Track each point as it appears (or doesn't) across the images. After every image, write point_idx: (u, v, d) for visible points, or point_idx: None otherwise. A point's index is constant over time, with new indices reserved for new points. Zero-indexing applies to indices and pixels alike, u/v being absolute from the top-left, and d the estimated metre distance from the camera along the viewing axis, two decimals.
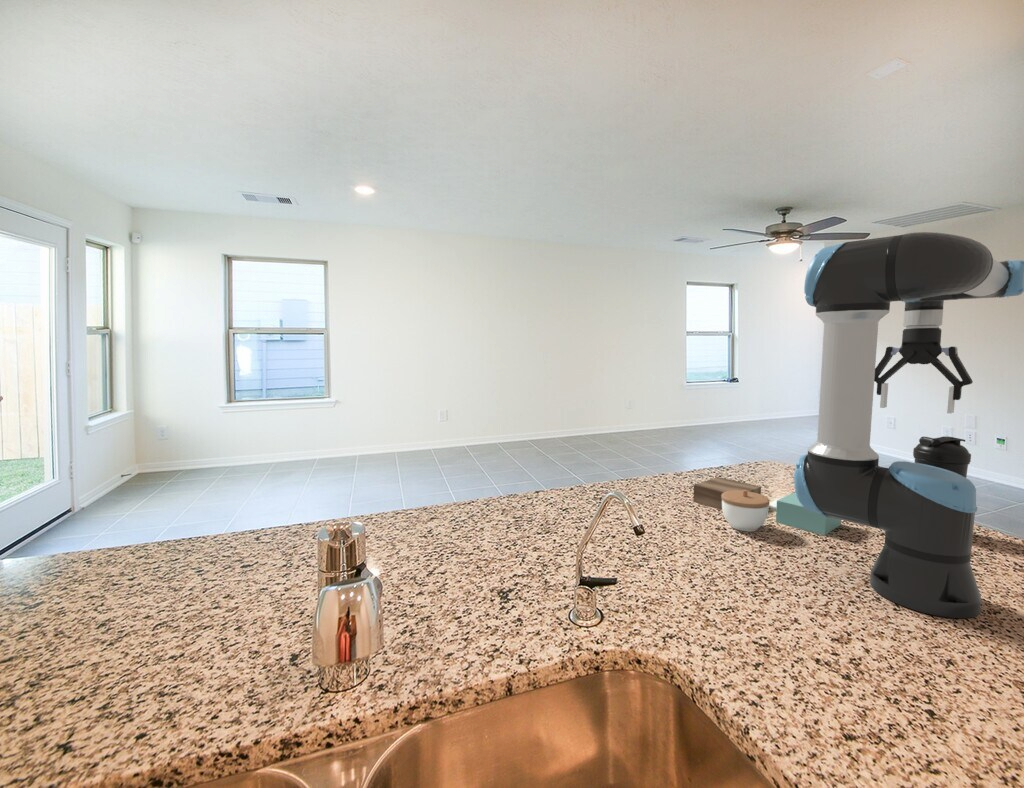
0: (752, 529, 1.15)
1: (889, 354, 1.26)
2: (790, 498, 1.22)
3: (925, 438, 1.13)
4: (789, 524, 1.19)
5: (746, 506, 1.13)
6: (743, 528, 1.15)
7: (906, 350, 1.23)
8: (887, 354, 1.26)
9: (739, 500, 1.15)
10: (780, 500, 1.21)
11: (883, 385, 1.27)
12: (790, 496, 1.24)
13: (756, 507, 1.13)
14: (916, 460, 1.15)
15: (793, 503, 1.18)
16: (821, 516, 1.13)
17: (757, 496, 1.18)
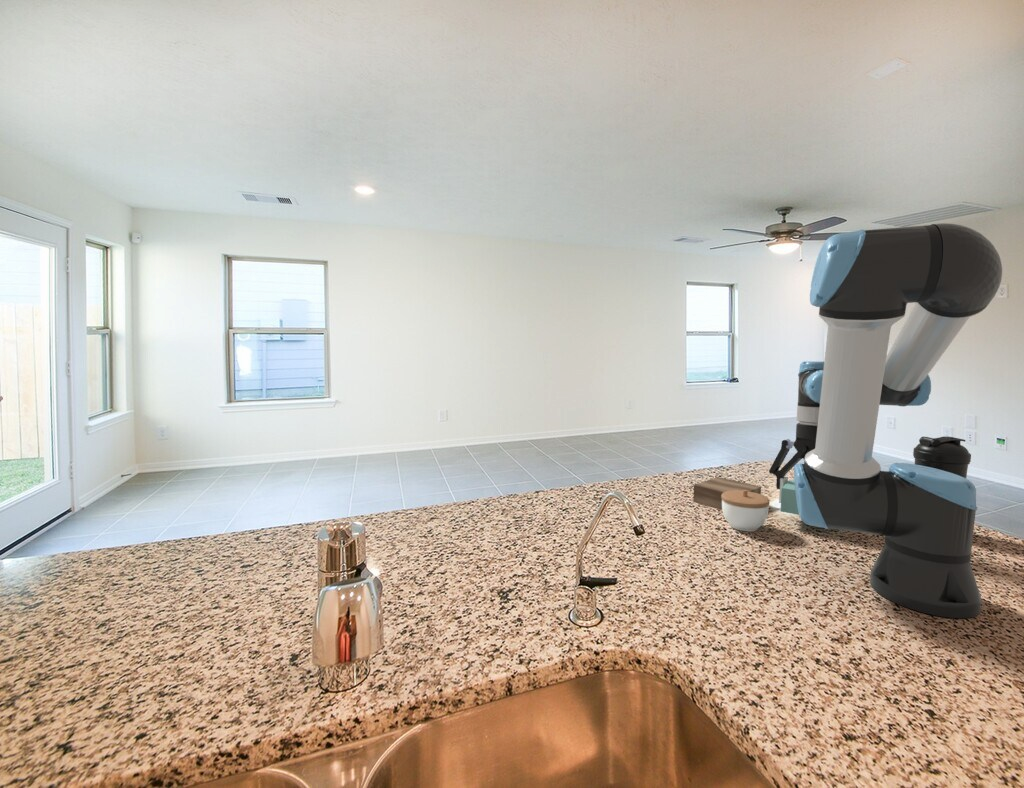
0: (752, 529, 1.15)
1: (785, 448, 1.22)
2: (791, 485, 1.21)
3: (925, 438, 1.13)
4: (795, 511, 1.16)
5: (746, 506, 1.13)
6: (743, 528, 1.15)
7: (800, 445, 1.20)
8: (783, 448, 1.23)
9: (739, 500, 1.15)
10: (784, 487, 1.18)
11: (781, 480, 1.23)
12: (789, 483, 1.22)
13: (756, 507, 1.13)
14: (916, 460, 1.15)
15: None
16: None
17: (757, 496, 1.18)
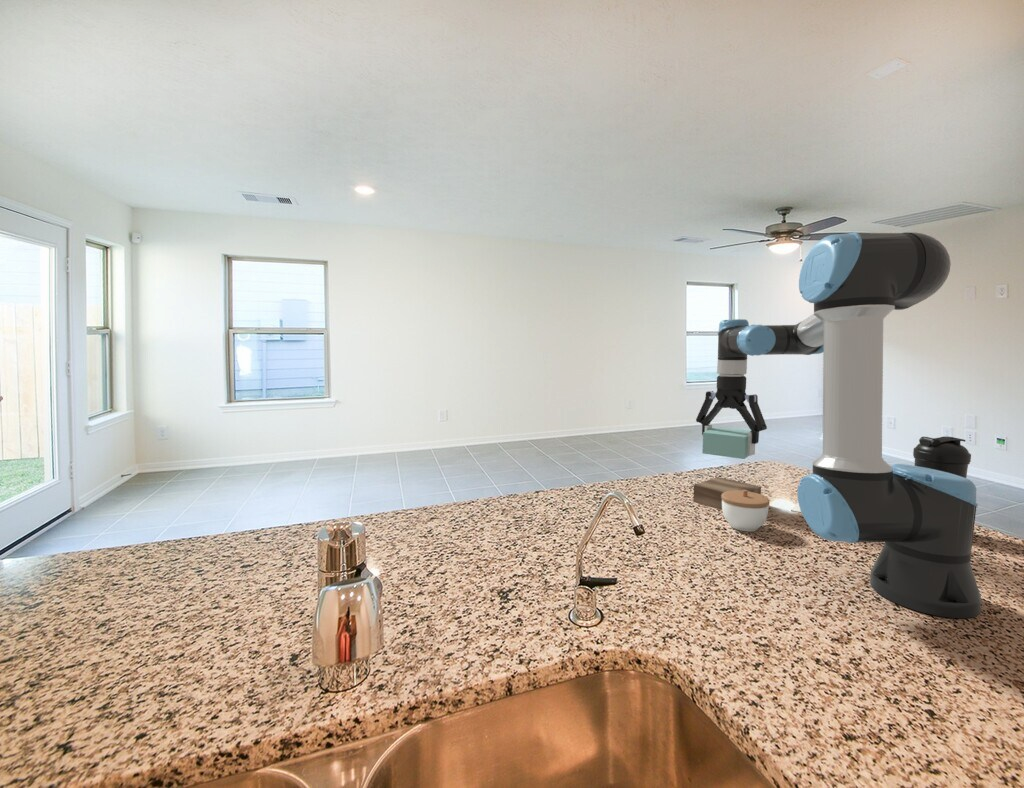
0: (752, 529, 1.15)
1: (708, 398, 1.37)
2: (713, 430, 1.36)
3: (925, 438, 1.13)
4: (714, 452, 1.32)
5: (746, 506, 1.13)
6: (743, 528, 1.15)
7: (720, 395, 1.35)
8: (707, 398, 1.38)
9: (739, 500, 1.15)
10: (705, 432, 1.34)
11: (706, 427, 1.38)
12: (712, 429, 1.38)
13: (756, 507, 1.13)
14: (916, 460, 1.15)
15: (717, 433, 1.32)
16: (741, 441, 1.27)
17: (757, 496, 1.18)
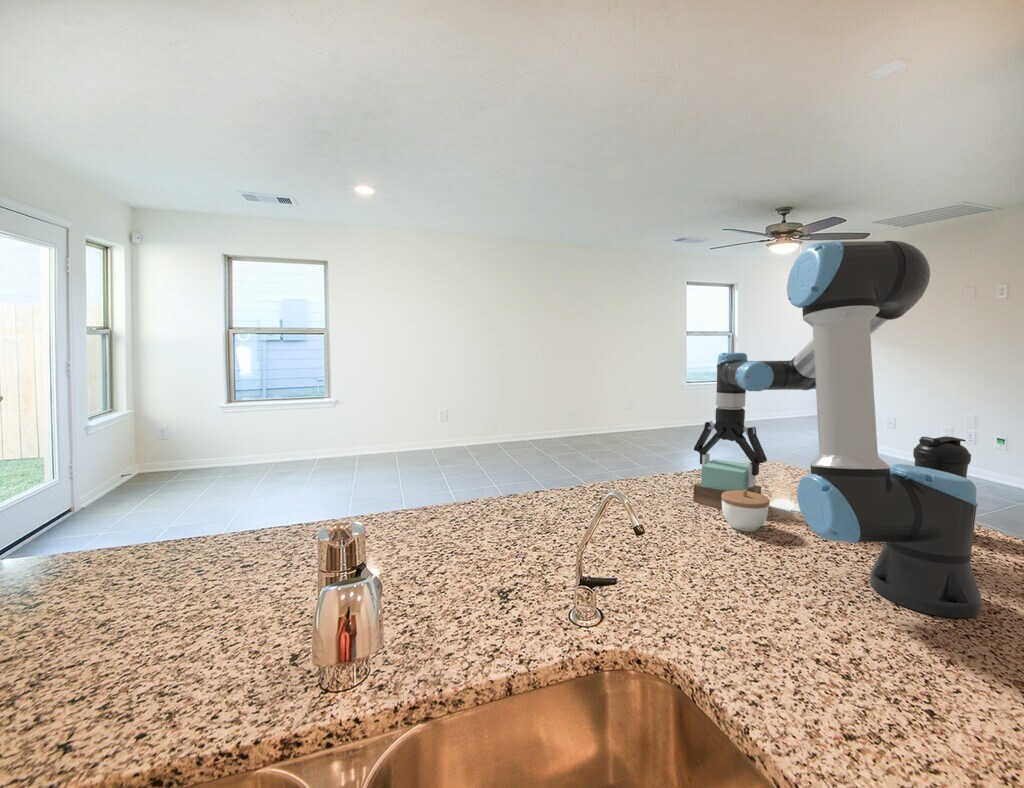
0: (752, 529, 1.15)
1: (707, 429, 1.38)
2: (712, 463, 1.37)
3: (925, 438, 1.13)
4: (713, 486, 1.33)
5: (746, 506, 1.13)
6: (743, 528, 1.15)
7: (718, 427, 1.36)
8: (705, 428, 1.39)
9: (739, 500, 1.15)
10: (704, 466, 1.35)
11: (703, 456, 1.40)
12: (711, 462, 1.39)
13: (756, 507, 1.13)
14: (916, 460, 1.15)
15: (716, 467, 1.33)
16: (740, 476, 1.28)
17: (757, 496, 1.18)
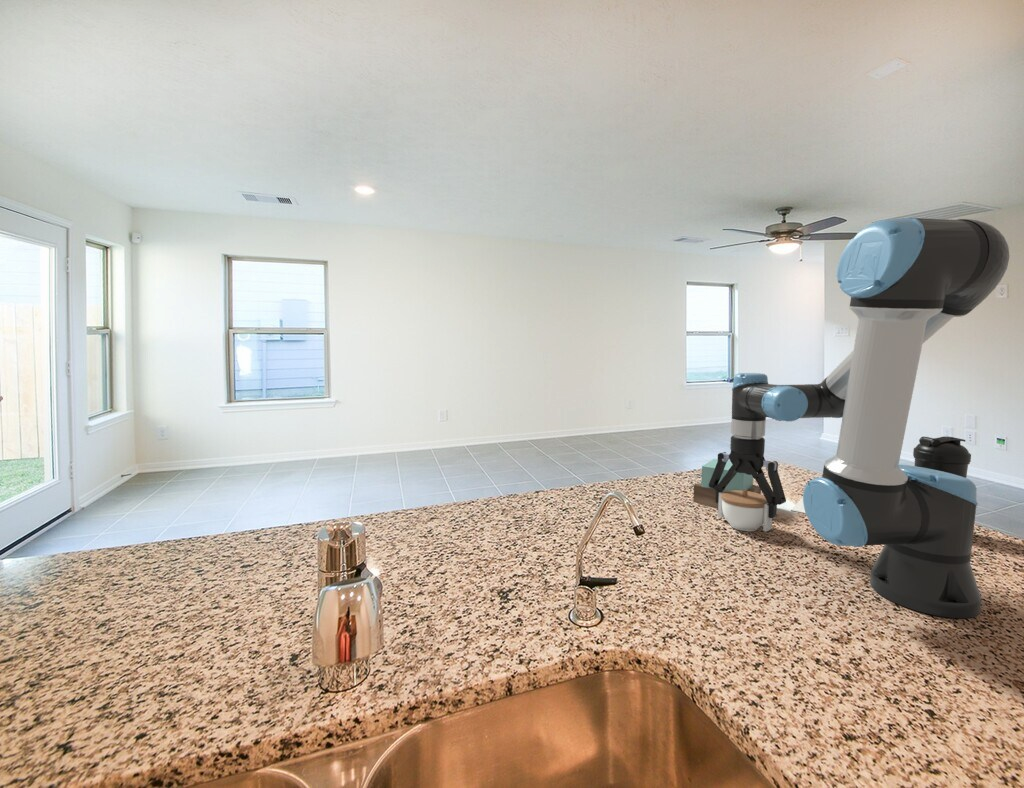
0: (752, 529, 1.15)
1: (721, 461, 1.21)
2: (712, 463, 1.37)
3: (925, 438, 1.13)
4: None
5: (746, 506, 1.13)
6: (743, 528, 1.15)
7: (734, 457, 1.18)
8: (719, 461, 1.21)
9: (739, 500, 1.15)
10: (704, 466, 1.35)
11: (720, 494, 1.22)
12: (711, 462, 1.39)
13: (756, 507, 1.13)
14: (916, 460, 1.15)
15: None
16: (740, 476, 1.28)
17: (757, 496, 1.18)
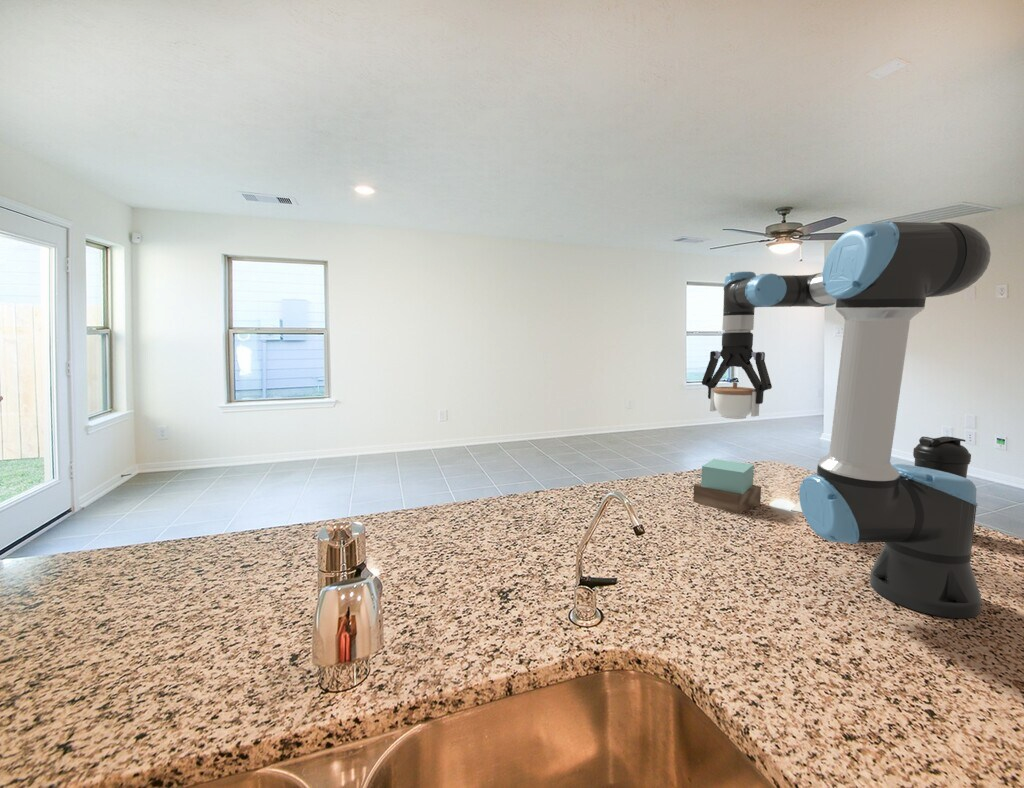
0: (741, 416, 1.26)
1: (713, 358, 1.31)
2: (712, 463, 1.37)
3: (925, 438, 1.13)
4: (713, 486, 1.33)
5: (736, 393, 1.24)
6: (733, 415, 1.26)
7: (725, 353, 1.29)
8: (711, 358, 1.32)
9: (729, 389, 1.25)
10: (704, 466, 1.35)
11: (712, 389, 1.32)
12: (711, 462, 1.39)
13: (745, 394, 1.23)
14: (916, 460, 1.15)
15: (716, 467, 1.33)
16: (740, 476, 1.28)
17: (746, 388, 1.28)
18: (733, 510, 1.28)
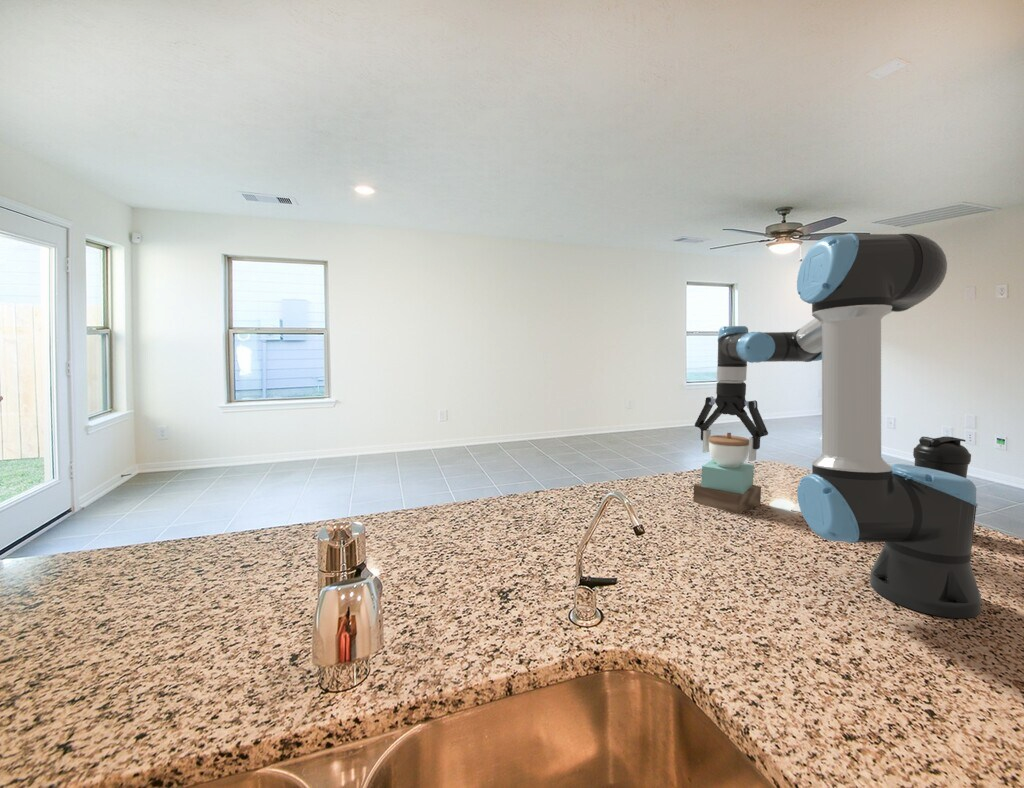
0: (735, 465, 1.32)
1: (708, 404, 1.38)
2: (712, 463, 1.37)
3: (925, 438, 1.13)
4: (713, 486, 1.33)
5: (729, 444, 1.30)
6: (727, 465, 1.32)
7: (719, 401, 1.35)
8: (706, 404, 1.38)
9: (723, 440, 1.31)
10: (704, 466, 1.35)
11: (704, 432, 1.39)
12: (711, 462, 1.39)
13: (738, 445, 1.29)
14: (916, 460, 1.15)
15: (716, 467, 1.33)
16: (740, 476, 1.28)
17: (739, 438, 1.34)
18: (733, 510, 1.28)
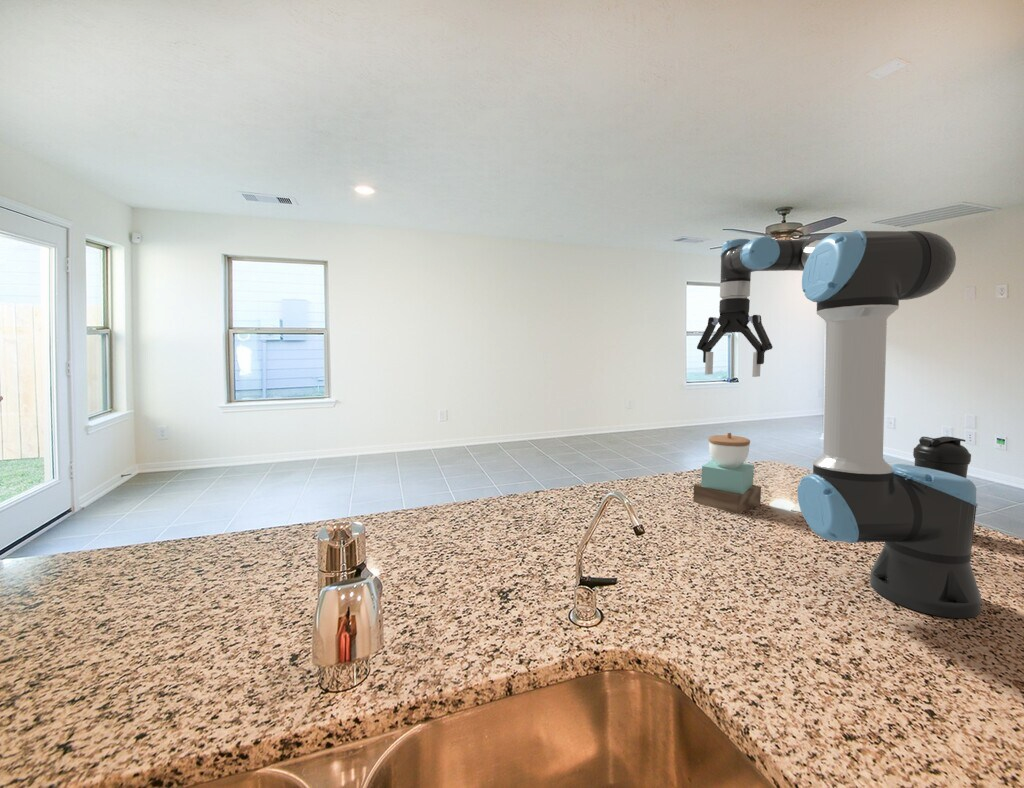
0: (735, 466, 1.32)
1: (710, 324, 1.35)
2: (712, 463, 1.37)
3: (925, 438, 1.13)
4: (713, 486, 1.33)
5: (729, 444, 1.30)
6: (727, 465, 1.32)
7: (722, 320, 1.32)
8: (709, 324, 1.35)
9: (724, 440, 1.31)
10: (704, 466, 1.35)
11: (707, 353, 1.37)
12: (711, 462, 1.39)
13: (738, 445, 1.29)
14: (916, 460, 1.15)
15: (716, 467, 1.33)
16: (740, 476, 1.28)
17: (739, 438, 1.34)
18: (733, 510, 1.28)
